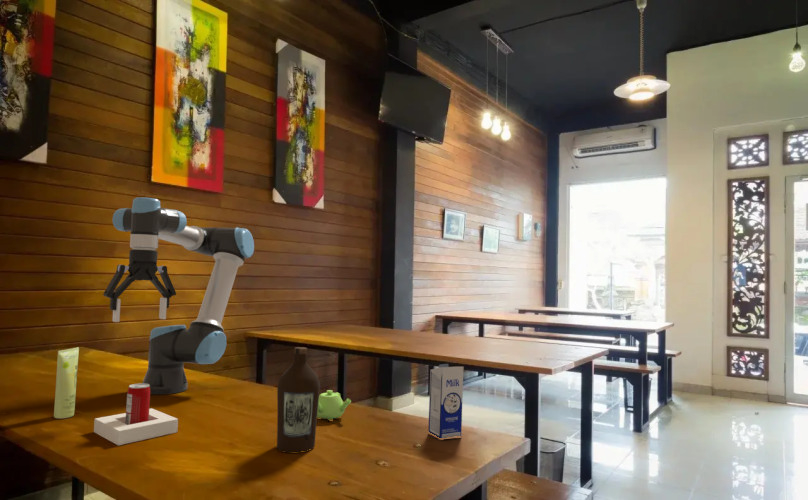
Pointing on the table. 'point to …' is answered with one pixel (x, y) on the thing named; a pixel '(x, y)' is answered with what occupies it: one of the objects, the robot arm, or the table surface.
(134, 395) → the soda can
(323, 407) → the teapot
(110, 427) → the socket block
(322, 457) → the table surface
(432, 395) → the milk carton
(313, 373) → the olive oil
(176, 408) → the table surface
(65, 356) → the tube
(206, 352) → the robot arm
